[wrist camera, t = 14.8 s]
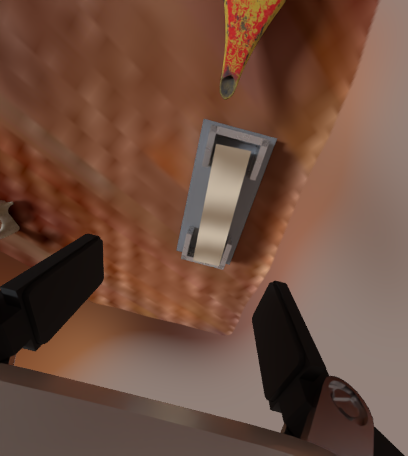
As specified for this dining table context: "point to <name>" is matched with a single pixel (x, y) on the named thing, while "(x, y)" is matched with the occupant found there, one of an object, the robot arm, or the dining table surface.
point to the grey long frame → (252, 174)
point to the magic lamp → (243, 36)
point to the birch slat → (220, 202)
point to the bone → (6, 220)
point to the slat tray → (201, 183)
